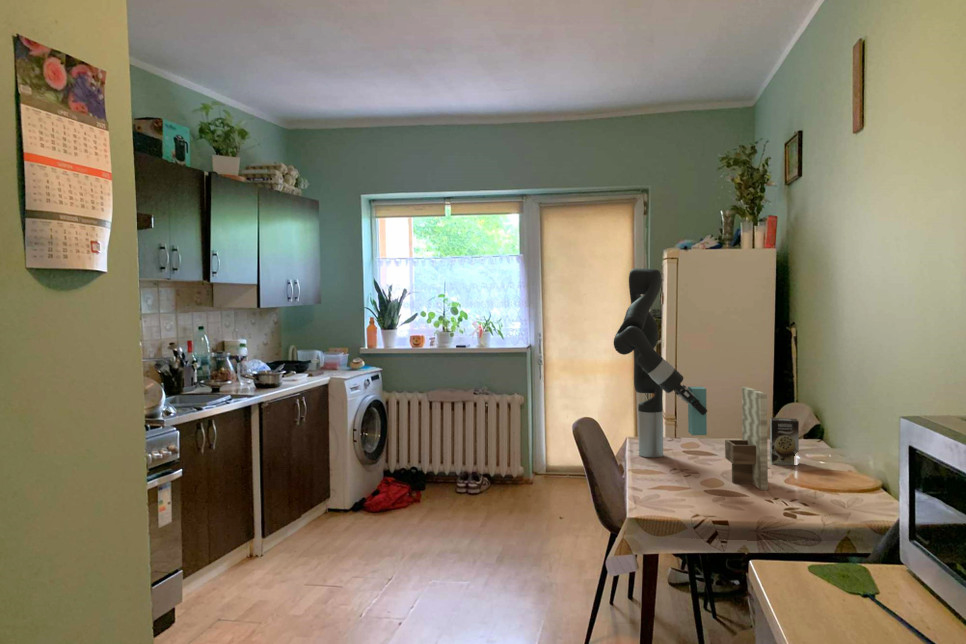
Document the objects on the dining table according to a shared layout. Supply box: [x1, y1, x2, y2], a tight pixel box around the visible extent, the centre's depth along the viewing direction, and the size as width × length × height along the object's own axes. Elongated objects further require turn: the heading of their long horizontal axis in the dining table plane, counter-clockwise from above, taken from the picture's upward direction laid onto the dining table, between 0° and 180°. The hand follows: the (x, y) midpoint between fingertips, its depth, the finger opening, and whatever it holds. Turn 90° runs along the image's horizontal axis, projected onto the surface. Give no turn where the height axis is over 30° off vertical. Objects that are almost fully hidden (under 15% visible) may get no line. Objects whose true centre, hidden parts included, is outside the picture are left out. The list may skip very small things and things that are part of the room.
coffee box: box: [769, 417, 800, 467], centre depth 242 cm, size 9×6×16 cm
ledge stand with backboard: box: [724, 386, 769, 491], centre depth 217 cm, size 18×9×30 cm, turn 176°
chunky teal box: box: [687, 386, 708, 436], centre depth 218 cm, size 6×4×15 cm
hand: (702, 411), depth 218 cm, fingers closed on chunky teal box, 5 cm apart
